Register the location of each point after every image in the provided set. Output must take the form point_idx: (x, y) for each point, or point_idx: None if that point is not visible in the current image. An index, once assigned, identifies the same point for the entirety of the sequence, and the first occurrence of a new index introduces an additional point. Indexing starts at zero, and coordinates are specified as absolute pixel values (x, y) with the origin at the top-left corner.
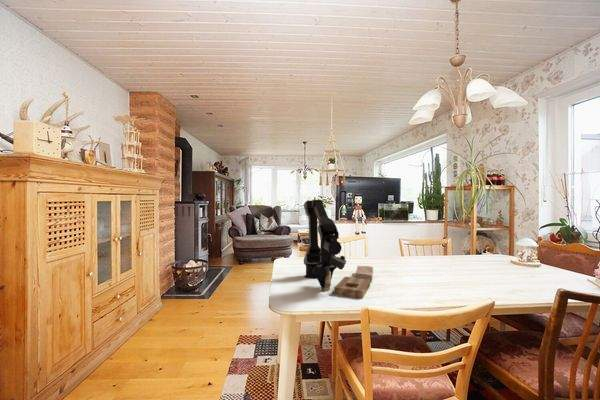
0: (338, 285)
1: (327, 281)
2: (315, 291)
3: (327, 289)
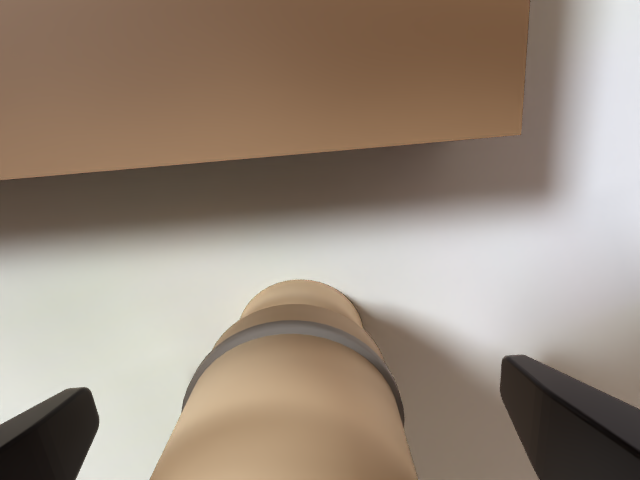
0: (320, 85)
1: (391, 418)
2: (453, 431)
3: (348, 309)
